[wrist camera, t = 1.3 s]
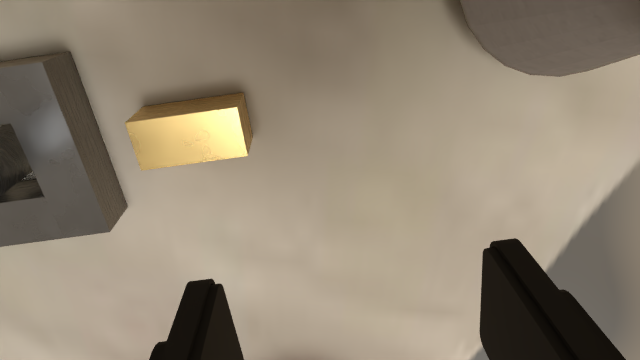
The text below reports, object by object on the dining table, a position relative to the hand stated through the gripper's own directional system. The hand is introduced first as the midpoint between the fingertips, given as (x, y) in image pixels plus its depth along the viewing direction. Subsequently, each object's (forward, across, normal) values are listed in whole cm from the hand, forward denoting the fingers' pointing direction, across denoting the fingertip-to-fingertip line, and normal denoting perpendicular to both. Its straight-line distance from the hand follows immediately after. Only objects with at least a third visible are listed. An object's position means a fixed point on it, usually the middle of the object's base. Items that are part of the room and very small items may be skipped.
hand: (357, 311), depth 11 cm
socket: (+18, +18, 0) cm, 26 cm away
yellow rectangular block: (+18, +8, 0) cm, 19 cm away
